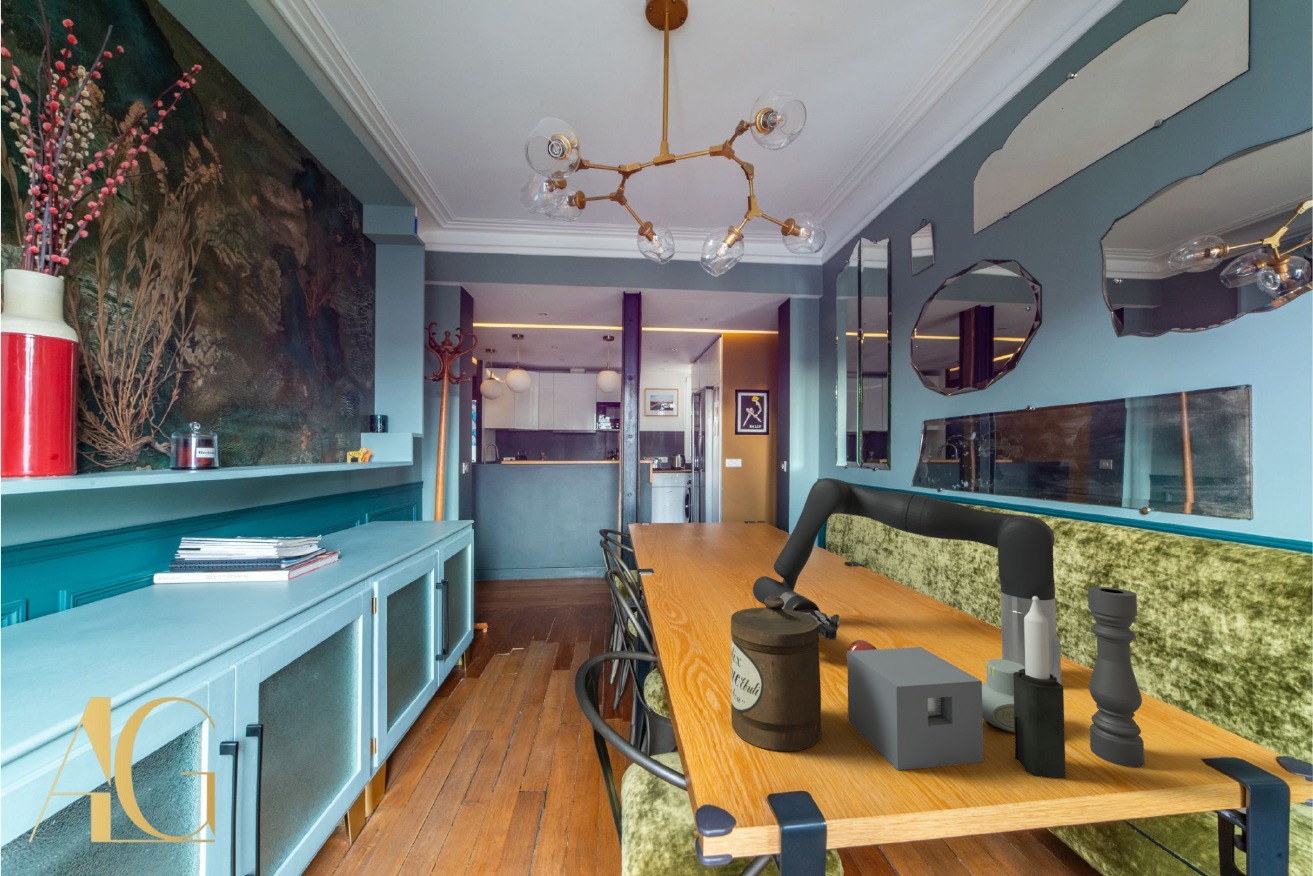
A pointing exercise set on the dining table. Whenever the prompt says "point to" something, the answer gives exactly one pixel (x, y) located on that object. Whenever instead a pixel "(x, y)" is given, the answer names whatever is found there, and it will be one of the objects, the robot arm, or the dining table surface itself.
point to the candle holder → (1114, 678)
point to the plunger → (933, 703)
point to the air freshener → (1000, 693)
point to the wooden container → (775, 677)
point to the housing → (915, 707)
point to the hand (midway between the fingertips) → (832, 635)
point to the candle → (1038, 704)
